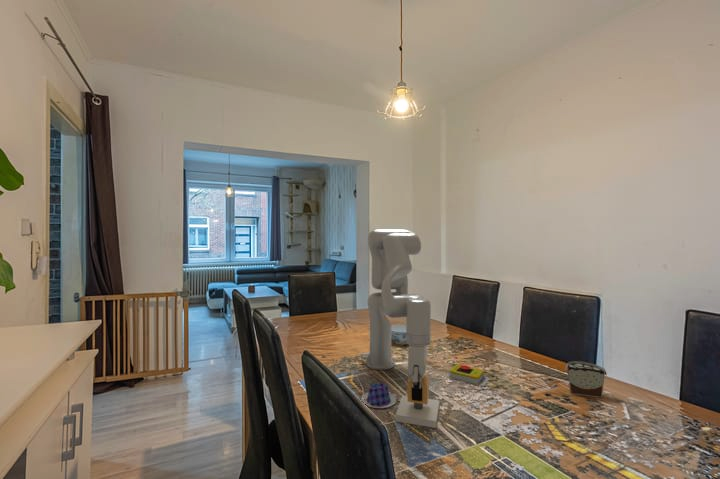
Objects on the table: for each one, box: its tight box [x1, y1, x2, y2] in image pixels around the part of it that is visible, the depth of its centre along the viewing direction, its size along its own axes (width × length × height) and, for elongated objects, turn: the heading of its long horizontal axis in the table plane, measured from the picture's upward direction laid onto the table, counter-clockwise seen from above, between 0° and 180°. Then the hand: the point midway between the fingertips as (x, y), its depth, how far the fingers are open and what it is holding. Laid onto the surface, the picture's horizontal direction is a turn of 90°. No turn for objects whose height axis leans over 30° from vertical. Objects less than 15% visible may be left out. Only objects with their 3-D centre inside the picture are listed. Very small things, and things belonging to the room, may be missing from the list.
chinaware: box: [391, 324, 407, 345], centre depth 175 cm, size 15×15×8 cm
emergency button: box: [445, 363, 491, 387], centre depth 131 cm, size 9×4×15 cm
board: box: [395, 394, 440, 429], centre depth 103 cm, size 12×13×9 cm
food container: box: [565, 360, 608, 399], centre depth 118 cm, size 12×6×10 cm, turn 71°
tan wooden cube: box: [406, 375, 430, 405], centre depth 103 cm, size 6×6×6 cm
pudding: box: [360, 382, 397, 409], centre depth 112 cm, size 12×12×5 cm
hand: (418, 395), depth 103 cm, fingers closed on tan wooden cube, 5 cm apart
